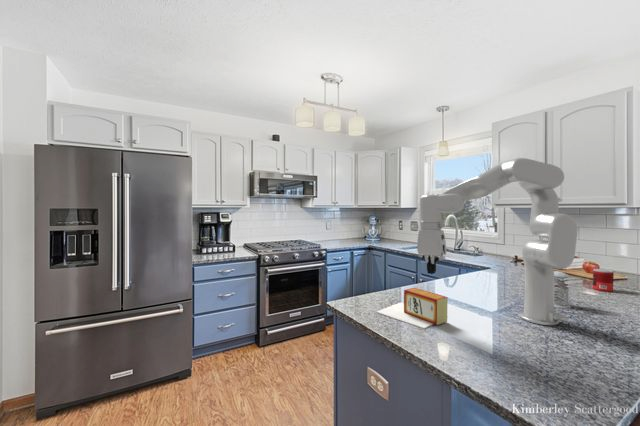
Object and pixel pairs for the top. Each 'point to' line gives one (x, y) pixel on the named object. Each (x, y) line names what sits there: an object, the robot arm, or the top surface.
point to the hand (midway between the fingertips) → (431, 273)
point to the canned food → (603, 280)
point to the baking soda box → (425, 305)
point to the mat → (403, 316)
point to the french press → (561, 291)
